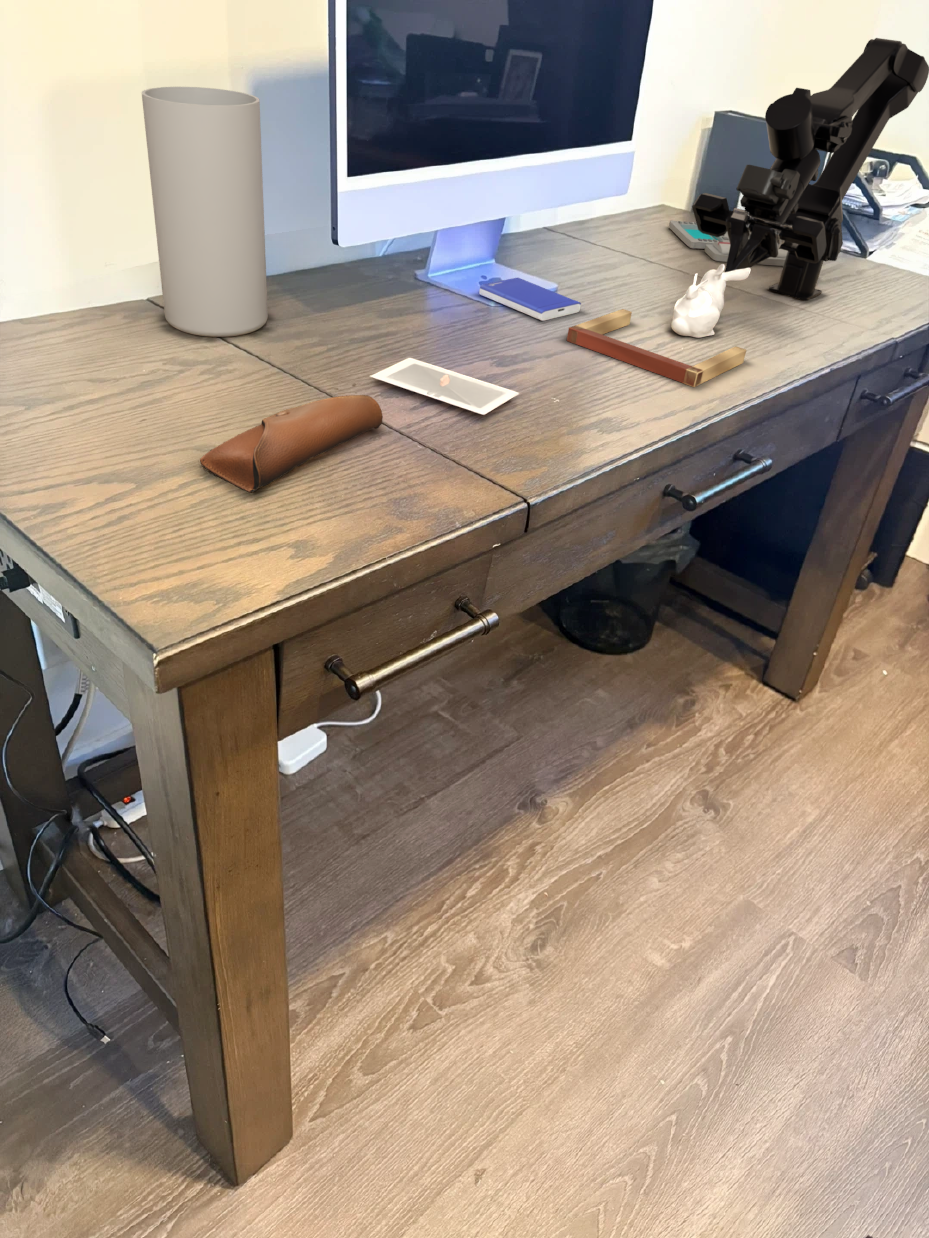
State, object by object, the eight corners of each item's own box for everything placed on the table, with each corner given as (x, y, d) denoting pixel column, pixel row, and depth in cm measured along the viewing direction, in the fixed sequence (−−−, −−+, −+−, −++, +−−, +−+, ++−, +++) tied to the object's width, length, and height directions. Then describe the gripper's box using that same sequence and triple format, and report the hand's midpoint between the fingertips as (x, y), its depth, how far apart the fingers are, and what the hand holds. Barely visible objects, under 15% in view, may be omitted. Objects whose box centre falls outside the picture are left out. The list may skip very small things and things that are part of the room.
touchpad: (409, 366, 110) (409, 348, 109) (518, 402, 105) (520, 384, 103) (369, 385, 105) (369, 367, 103) (482, 424, 99) (484, 405, 98)
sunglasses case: (319, 404, 98) (345, 360, 93) (363, 452, 98) (392, 411, 93) (191, 462, 86) (214, 415, 81) (242, 518, 85) (268, 474, 81)
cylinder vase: (288, 327, 117) (282, 103, 103) (201, 346, 110) (182, 108, 95) (231, 299, 124) (217, 85, 109) (146, 315, 116) (119, 88, 102)
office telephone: (816, 253, 162) (706, 246, 159) (811, 269, 163) (703, 262, 160) (767, 218, 180) (668, 211, 177) (763, 232, 182) (665, 225, 179)
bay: (620, 321, 130) (622, 308, 129) (743, 363, 121) (746, 349, 120) (566, 341, 122) (568, 327, 121) (694, 387, 113) (697, 373, 112)
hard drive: (479, 284, 133) (542, 310, 127) (519, 276, 138) (581, 301, 131) (478, 295, 134) (540, 322, 128) (518, 287, 139) (579, 312, 132)
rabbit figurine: (702, 316, 136) (719, 247, 130) (747, 332, 132) (766, 261, 126) (655, 331, 128) (670, 259, 123) (701, 348, 124) (719, 275, 119)
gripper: (715, 128, 126) (656, 224, 126) (846, 155, 117) (783, 258, 117) (727, 185, 136) (673, 274, 136) (849, 214, 127) (791, 309, 126)
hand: (726, 278), depth 128 cm, fingers closed
